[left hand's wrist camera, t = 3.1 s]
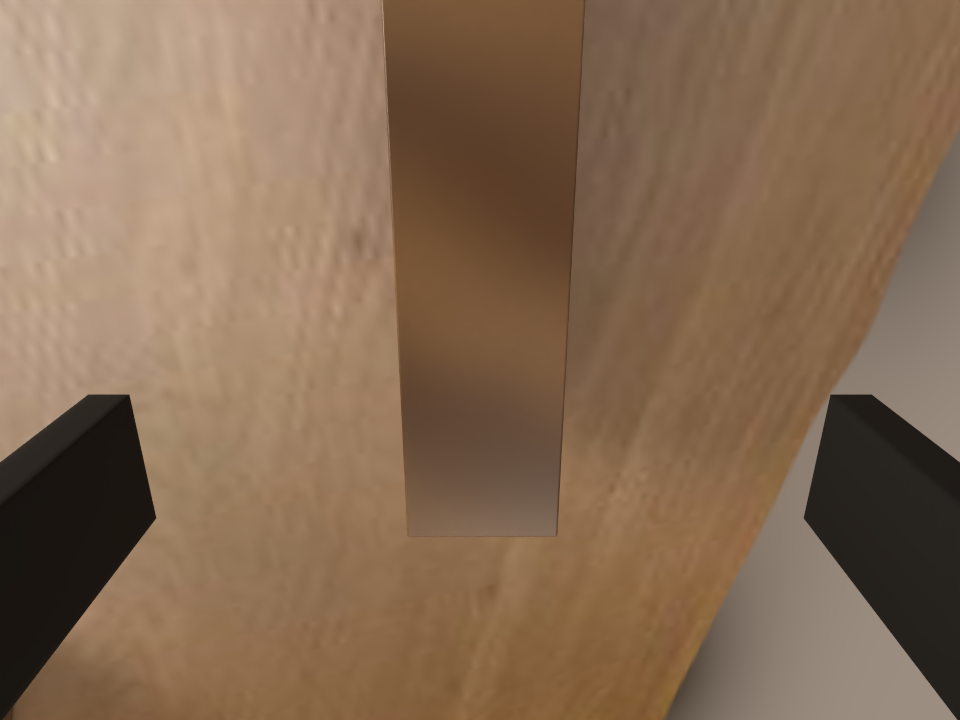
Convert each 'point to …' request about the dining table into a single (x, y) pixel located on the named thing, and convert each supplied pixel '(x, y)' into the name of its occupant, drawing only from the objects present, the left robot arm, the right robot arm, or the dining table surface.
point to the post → (482, 254)
